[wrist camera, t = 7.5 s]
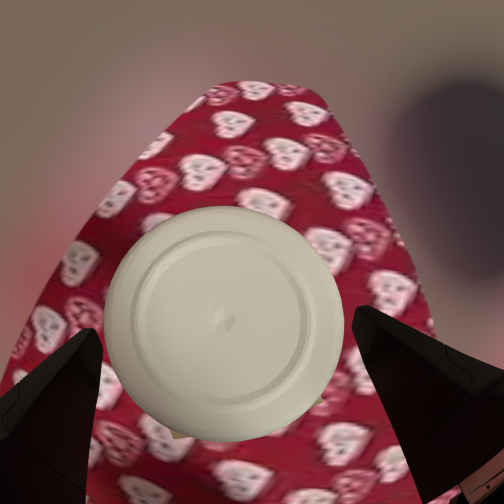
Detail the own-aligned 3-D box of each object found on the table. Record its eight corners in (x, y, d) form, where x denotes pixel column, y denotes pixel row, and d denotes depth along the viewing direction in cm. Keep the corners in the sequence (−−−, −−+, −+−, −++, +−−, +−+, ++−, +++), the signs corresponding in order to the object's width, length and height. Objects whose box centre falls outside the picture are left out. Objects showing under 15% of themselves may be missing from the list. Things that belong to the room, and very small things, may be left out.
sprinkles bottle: (197, 381, 16) (124, 460, 4) (183, 312, 18) (89, 221, 5) (268, 367, 17) (374, 407, 4) (252, 299, 18) (313, 183, 6)
